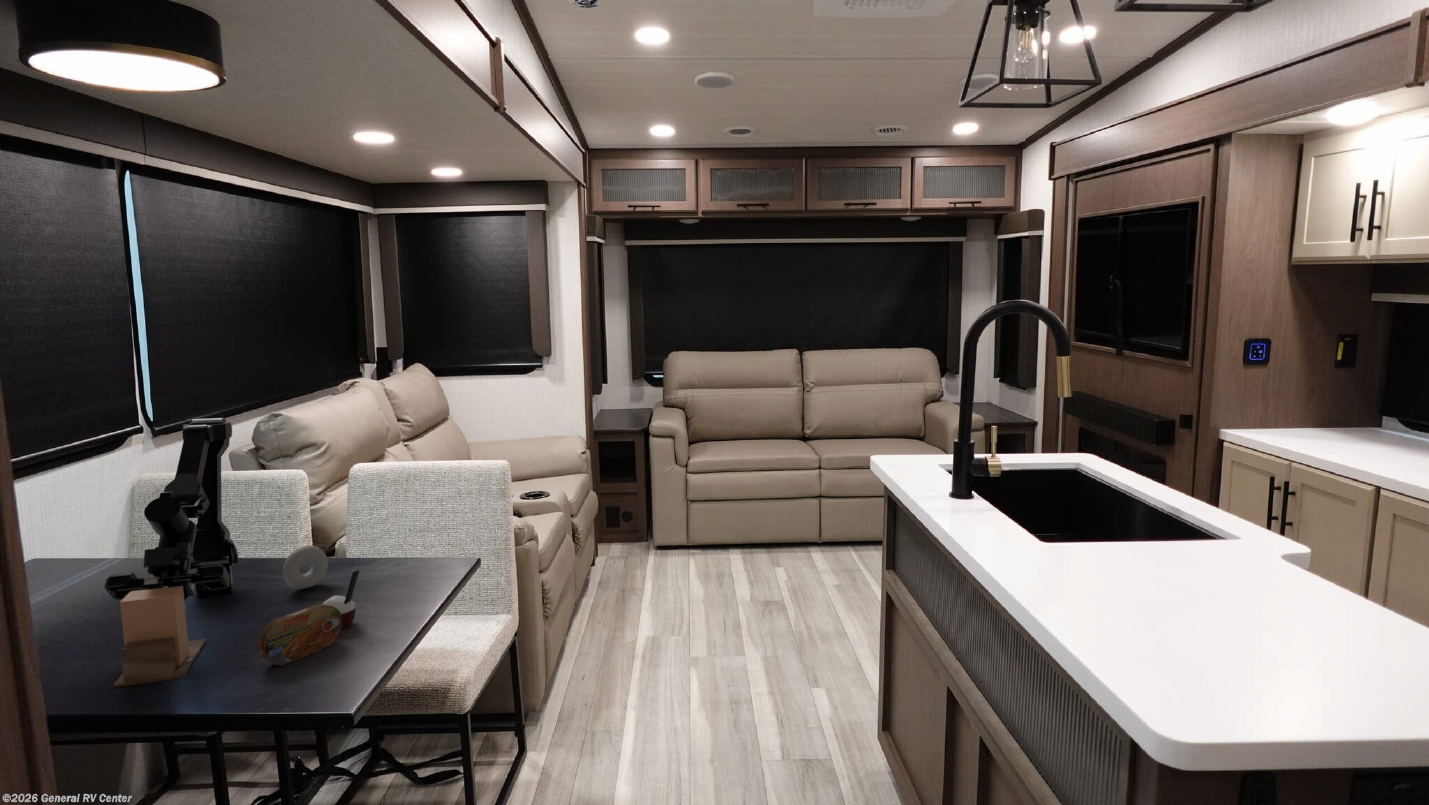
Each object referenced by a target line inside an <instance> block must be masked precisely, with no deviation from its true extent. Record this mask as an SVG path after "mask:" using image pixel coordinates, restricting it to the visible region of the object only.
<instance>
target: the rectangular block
mask: <svg viewBox="0 0 1429 805" xmlns="http://www.w3.org/2000/svg"><path fill="white" fill-rule="evenodd" d="M185 602H186V601H184V592H183V586H178V587H169V588H168V587H165V588H159V589H149V590H142V589H141V590H139V591H131V592H130V593H128V594H127V595H126V596H125V597H124V598H123V599H122V600H119V606H120V614H121V615H120V616H121V625H122V634H123V642H124V645H123V646H125V644H126V643H127V642H134V641H143V640H151V639H159V638H167V637H175V647H176V658H177V666H180V665H182V663H183V662H184V660H185V659H186V657H187V656H188V654H189V645H188V641H189V635H188V626H187V615H186V605H185Z"/></svg>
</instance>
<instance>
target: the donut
mask: <svg viewBox="0 0 1429 805" xmlns="http://www.w3.org/2000/svg"><path fill="white" fill-rule="evenodd" d="M306 561H309V562H310V563H311V566H310V568H309V571H307V572H306V573H301V572H300V568H301V566H302V564H304V562H306ZM328 564H329V561H328V558H327V555H326V553H325V551H324V550H323V549H321V548H320V547H318V546H316V545H311V544H310V545H302V546H301V547H298V548H295V549H294V550H293V551H292V552H291V553H289V555H288V556H287V558H286V559H285V560H284V563H283V566H282V575H283V579H284V582H286V584H287V585H288V586H290V587H291V588H292V589H296V590H306V589H305V588H307V589H309V587H310V588H312V587H314V586H316V585H317V584H318V583H320V582H321V581H322V579H323V578H324V577H325V574H326V573H327V570H328Z"/></svg>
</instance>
